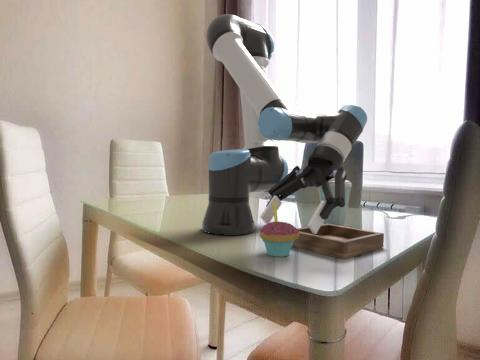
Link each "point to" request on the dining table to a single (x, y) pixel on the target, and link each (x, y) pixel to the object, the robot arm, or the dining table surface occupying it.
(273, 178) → the robot arm
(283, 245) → the cupcake
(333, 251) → the wooden tray
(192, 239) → the dining table surface
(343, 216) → the disposable coffee cup
